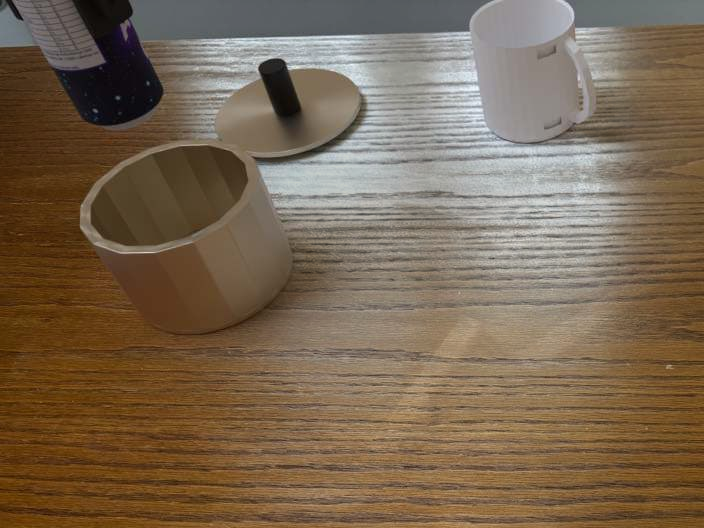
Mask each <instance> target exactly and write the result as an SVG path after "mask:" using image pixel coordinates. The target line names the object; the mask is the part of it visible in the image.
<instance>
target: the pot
mask: <svg viewBox="0 0 704 528" xmlns="http://www.w3.org/2000/svg"><path fill="white" fill-rule="evenodd" d="M79 228H80V230H81V232H82V233H83V235H84V236H85V238H86V239H87V241H88V242H89V243H90V245H91V247H92V248H93V250H94V251H95V253H96V254H97V256H98V257H99V259H100V260H101V261H102V263H103V265H104V266H105V268H106V270H107V271H108V272H109V274H110V275H111V277H112V279H114V281H115V283H116V284H117V286H118V287H119V288H120V290H121V291H122V293H123V294H124V296H125V297H126V299H127V301H128V302H129V303H130V305H131V306H132V307H133V309H134V310H135V311H136V312H137V313H138V315H139V317H140V318H141V319H142V320H143V321H144V322H145V323H146V324H148V325H150V326H151V327H153V328H155V329H157V330H159V331H162V332H166V333H169V334H175V335H186V336H187V335H201V334H208V333H213V332H218V331H222V330H224V329H226V328H230V327H233V326H235V325H237V324H240V323H242V322H244V321H246V320H248V319H249V318H251V317H253V316H255V315H256V314H258V313H259V312H262V310H264V309H265V308H266V307H267V306H268V305H270V304H271V303H272V302H273V300H276V298H277V297H278V296H279V294H280V293H281V292H282V291H283V289H284V288H285V286H286V285H287V283H288V282H289V278H290V277H291V274H292V271H293V267H294V254H293V250H292V247H291V245H290V240H289V236H288V233H287V232H286V230H285V227H284V225H283V223H282V220H281V218H280V215H279V213H278V211H277V209H276V206H275V204H274V201H273V199H272V196H271V194H270V192H269V190H268V187H267V184H266V183H265V180H264V178H263V175H262V173H261V170H260V169H259V165H258V164H257V161H256V159H254V157H252V156H250V155H249V154H248V153H246V152H245V151H244V150H243V149H242V148H241V147H239V146H238V145H235V144H231V143H227V142H223V141H221V140H220V139H215V138H204V139H203V138H199V139H179V140H176V141H173V142H169V143H164V144H161V145H157V146H153V147H150V148H147V149H145V150H143V151H141V152H139V153H136V154H134V155H133V156H131V157H129V158H127V159H124V160H123V161H121V162H119V163H117V164H116V165H115V166H114V167H112V168H111V169H110V170H109V171H108V172H107V173H105V174H104V175H103V176H102V177H101V178H99V179H98V180H97V181H96V182H94V184H93V185H92V187H91V189H90V190H89V192H88V193H87V195H86V197H85V198H84V199H83V202H82V203H81V204H80V208H79Z"/></svg>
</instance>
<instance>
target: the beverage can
mask: <svg viewBox="0 0 704 528" xmlns="http://www.w3.org/2000/svg"><path fill="white" fill-rule="evenodd" d="M12 1H13V3H14V4H15V6H16V8H17V10H18V11H19V13H20V15H21V16H22V18H23V20H24V21H23V22H24V23H25V25H26V26H27V28H28V30H29V31H30V33H31V35H32V37H33V39H34V40H35V42H36V43H37V45H38V47H39V48H40V50H41V52H42V53H43V55H44V57H45V59H46V60H47V62H48V64H49V66H50V67H51V69H52V71H53V72H54V74H55V76H56V78H57V79H58V81H59V82H60V84H61V86H62V88H63V89H64V91H65V93H66V95H67V96H68V98H69V99H70V101H71V103H72V105H73V107H74V108H75V110H76V111H77V113H78V114H79V116H80V118H81V119H82V120H83V122H85V123H88V124H91V125H93V126H96V127H97V126H98V127H101V129H104V130H107V131H125V130H129V129H132V128H135V127H138V126H140V125H142V124H144V123H146V122H147V121H148V120H150V119H152V118H153V116H155V114H156V113H157V112H158V110H159V104H160V102H161V100H162V98H163V95H164V86H163V84H162V82H161V80H160V79H159V76H158V74H157V72H156V70H155V68H154V66H153V64H152V62H151V60H150V58H149V56H148V53H147V51H146V49H145V47H144V46H143V43H142V41H141V39H140V37H139V35H138V33H137V30H136V29H135V27H134V24H133V23H132V20H131V19H130V18H129V19H127V20H126V21H125V22H123V23H122V24H120V25H119V26H118V27H116V28H115V29H113V30H112V31H111V32H109V33H108V34H106V35H105V36H104V37H102V38H100V37H95V36H92V35H91V34H90V33H89V31H88V30H87V28H86V26H85V24H84V22H83V20H82V18H81V16H80V15H79V13H78V11H77V9H76V7H75V5H74V3H73V1H72V0H12Z"/></svg>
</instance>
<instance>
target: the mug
mask: <svg viewBox="0 0 704 528" xmlns="http://www.w3.org/2000/svg"><path fill="white" fill-rule="evenodd" d="M468 28H469V34H470V39H471V46H472V52H473V59H474V65H475V71H476V77H477V84H478V90H479V95H480V96H479V97H480V102H481V109H482V116H483V120H484V123H485V125H486V127H487V128H488V129H489V131H491V132H492V133H493V134H494V135H496V136H497V137H499V138H501V139H503V140H506V141H509V142H515V143H523V144H524V143H525V144H527V143H528V144H530V143H538V142H543V141H548V140H551V139H554V138H556V137H558V136H560V135H562V134H563V133H565V132H567V131H568V130H569V129H570V128H571V127H572V126H573V125H574V124H576V125H580V124H581V123H583V122H585V121H586V120H588V119H589V118H590V117H591V116H592V115H594V113H595V112H597V90H596V88H595V87H596V86H595V83H594V79H593V76H592V71H591V70H590V66H589V63H588V61H587V59H586V57H585V55H584V52H583V51H582V48H581V47H580V46H579V45H578V43H577V40H576V39H577V37H576V36H577V35H576V19H575V11H574V9H573V7H572V6H571V5H570V4H569V2H567V1H566V0H491V1H489V2H487V3H485V4H483V5H482V6H481V7H479V8H478V9H477V10H476V11H475V12H474V13H473V15H472V16H471V18H470V20H469V27H468ZM579 80H580V81H579ZM579 82H580V84H581V89H582V95H583V103H582V110H580V93H579Z"/></svg>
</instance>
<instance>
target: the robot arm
mask: <svg viewBox="0 0 704 528" xmlns="http://www.w3.org/2000/svg"><path fill="white" fill-rule="evenodd" d="M4 1H5V2H6V4H7V5H8V7H9V9H10V11H11V12H12V14H13V15H14V17H15V18H16V20H18V21H22V22H25V21H24V20H23V18H22V16H21V15H20V13H19V11H18V10H17V8H16V6H15V4H14V3H13V1H12V0H4ZM72 1H73V3H74V5H75V7H76V9H77V11H78V13H79V15H80V16H81V18H82V20H83V22H84V24H85V26H86V28H87V30H88V31H89V33H90V34H91V35H92V36H95V37H100V38H102V37H104V36H105V35H106V34H108V33H109V32H111V31H112V30H113V29H115V28H116V27H118V26H119V25H120V24H122V23H123V22H125V21H126V20H127V19H130V18H132V16H133V14H134V9H133V6H132V4H131V2H130V0H72Z"/></svg>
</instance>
